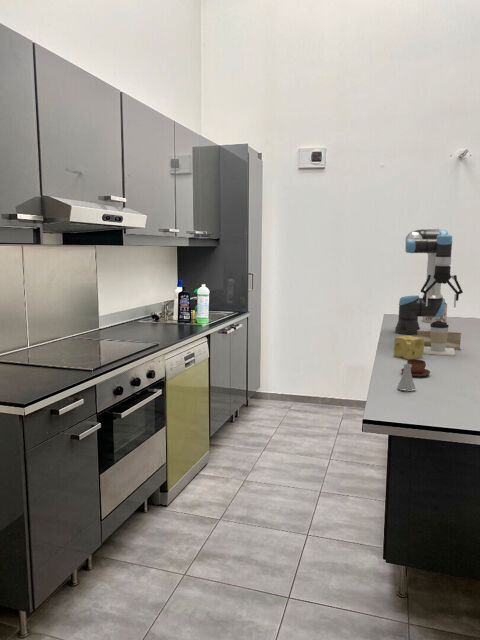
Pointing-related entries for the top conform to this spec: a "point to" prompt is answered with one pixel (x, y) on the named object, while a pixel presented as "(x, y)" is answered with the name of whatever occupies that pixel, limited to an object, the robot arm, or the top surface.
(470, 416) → the top surface
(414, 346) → the cheese
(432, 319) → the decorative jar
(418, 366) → the cup and saucer
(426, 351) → the display pad
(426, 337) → the wooden screen
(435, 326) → the coffee cup
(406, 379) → the flask
